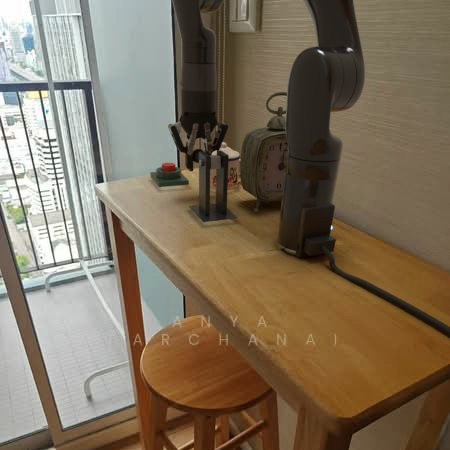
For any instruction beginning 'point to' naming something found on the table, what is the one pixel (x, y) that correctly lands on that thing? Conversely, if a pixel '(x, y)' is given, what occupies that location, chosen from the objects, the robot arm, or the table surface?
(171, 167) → the button
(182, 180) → the button box
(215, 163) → the lever
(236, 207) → the table surface
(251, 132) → the tabletop clock
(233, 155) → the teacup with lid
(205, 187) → the bracket
